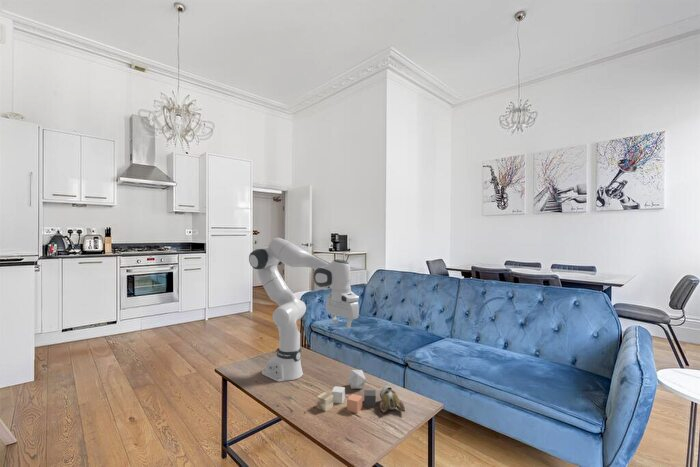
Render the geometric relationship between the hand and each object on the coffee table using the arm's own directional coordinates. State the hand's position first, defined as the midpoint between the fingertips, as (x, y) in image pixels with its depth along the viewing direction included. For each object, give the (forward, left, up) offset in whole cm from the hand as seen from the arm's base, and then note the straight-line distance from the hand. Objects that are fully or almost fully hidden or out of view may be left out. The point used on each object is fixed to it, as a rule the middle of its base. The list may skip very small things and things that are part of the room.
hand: (341, 325), depth 145 cm
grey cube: (-1, 0, -34) cm, 34 cm away
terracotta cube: (+9, -3, -34) cm, 35 cm away
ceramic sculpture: (+22, +5, -35) cm, 41 cm away
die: (+1, +15, -34) cm, 37 cm away
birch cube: (-3, -8, -34) cm, 35 cm away
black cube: (+13, +4, -34) cm, 37 cm away
